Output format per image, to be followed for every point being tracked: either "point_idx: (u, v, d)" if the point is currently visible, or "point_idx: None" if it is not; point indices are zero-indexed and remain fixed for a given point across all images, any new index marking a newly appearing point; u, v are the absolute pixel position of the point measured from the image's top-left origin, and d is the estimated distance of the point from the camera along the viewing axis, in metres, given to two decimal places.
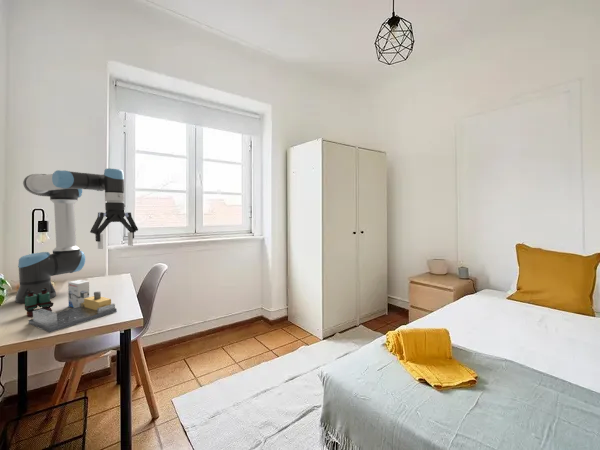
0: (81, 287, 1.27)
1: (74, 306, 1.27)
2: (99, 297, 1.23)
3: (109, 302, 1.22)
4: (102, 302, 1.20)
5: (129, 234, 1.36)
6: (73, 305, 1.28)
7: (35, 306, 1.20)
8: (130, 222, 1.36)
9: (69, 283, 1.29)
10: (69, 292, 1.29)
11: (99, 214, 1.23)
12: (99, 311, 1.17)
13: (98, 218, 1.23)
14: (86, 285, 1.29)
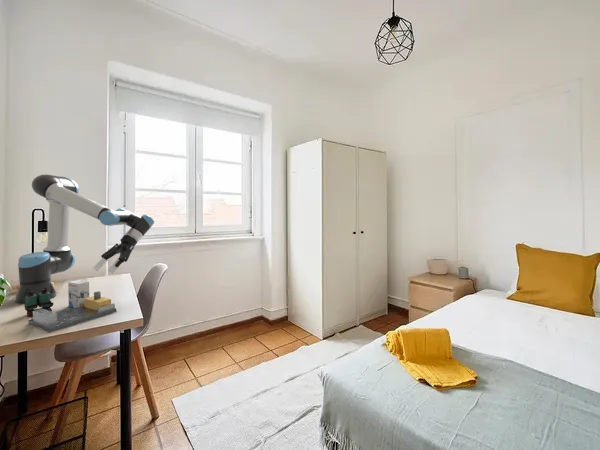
0: (81, 287, 1.27)
1: (74, 306, 1.27)
2: (99, 297, 1.23)
3: (109, 302, 1.22)
4: (102, 302, 1.20)
5: (103, 260, 1.45)
6: (73, 305, 1.28)
7: (35, 306, 1.20)
8: None
9: (69, 283, 1.29)
10: (69, 292, 1.29)
11: (131, 247, 1.45)
12: (99, 311, 1.17)
13: (129, 250, 1.43)
14: (86, 285, 1.29)
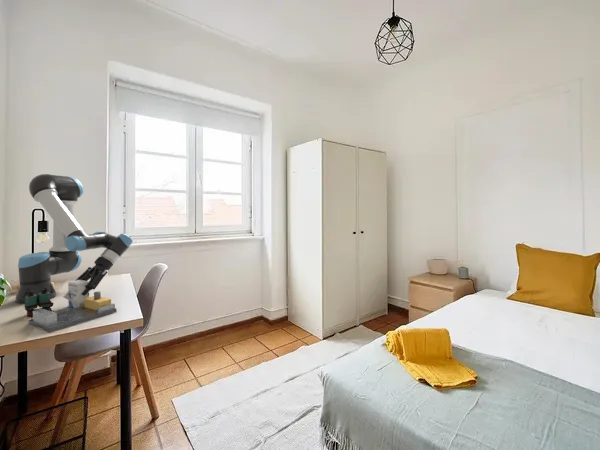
0: (81, 287, 1.27)
1: (74, 306, 1.27)
2: (99, 297, 1.23)
3: (109, 302, 1.22)
4: (102, 302, 1.20)
5: None
6: (73, 305, 1.28)
7: (35, 306, 1.20)
8: None
9: (69, 283, 1.29)
10: (69, 291, 1.29)
11: (104, 272, 1.34)
12: (99, 311, 1.17)
13: (101, 275, 1.32)
14: (86, 285, 1.29)
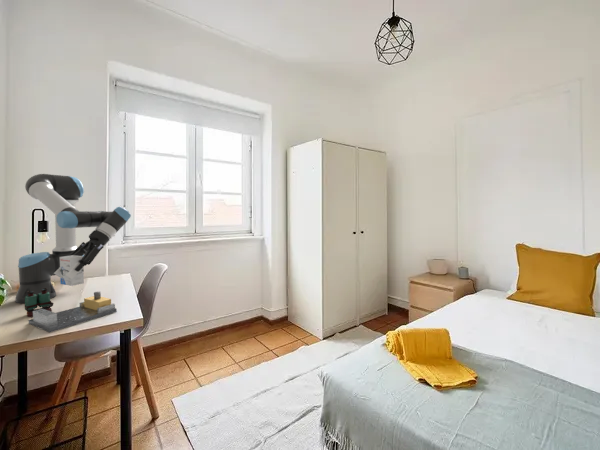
0: (74, 262, 1.14)
1: (67, 283, 1.14)
2: (99, 297, 1.23)
3: (109, 302, 1.22)
4: (102, 302, 1.20)
5: None
6: (66, 282, 1.15)
7: (35, 306, 1.20)
8: None
9: (61, 258, 1.16)
10: (61, 267, 1.15)
11: (100, 247, 1.21)
12: (99, 311, 1.17)
13: (97, 250, 1.19)
14: None
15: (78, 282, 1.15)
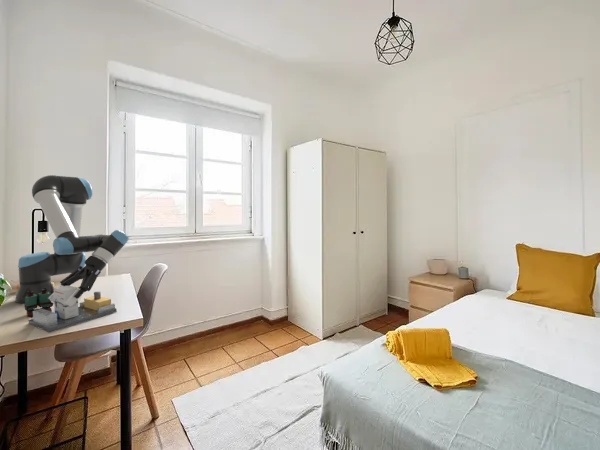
0: (68, 294, 1.10)
1: (61, 316, 1.11)
2: (99, 297, 1.23)
3: (109, 302, 1.22)
4: (102, 302, 1.20)
5: None
6: (60, 315, 1.11)
7: (35, 306, 1.20)
8: None
9: (55, 290, 1.12)
10: (55, 299, 1.12)
11: (97, 272, 1.17)
12: (99, 311, 1.17)
13: (95, 275, 1.16)
14: None
15: (72, 315, 1.12)
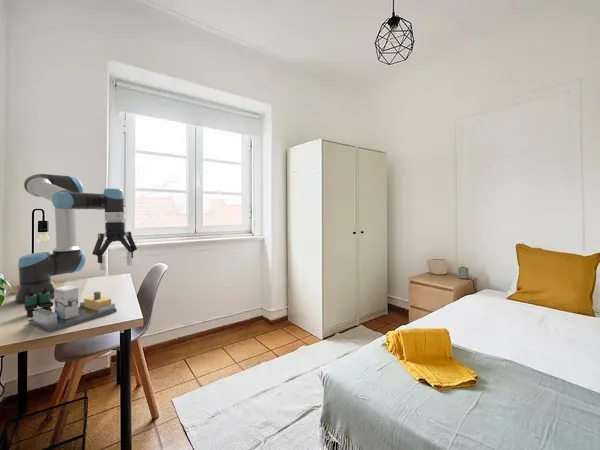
0: (68, 294, 1.10)
1: (61, 316, 1.11)
2: (99, 297, 1.23)
3: (109, 302, 1.22)
4: (102, 302, 1.20)
5: (128, 254, 1.35)
6: (60, 315, 1.11)
7: (35, 306, 1.20)
8: (129, 241, 1.36)
9: (55, 289, 1.12)
10: (56, 299, 1.12)
11: (99, 235, 1.24)
12: (99, 311, 1.17)
13: (98, 239, 1.24)
14: (75, 292, 1.12)
15: (72, 315, 1.12)
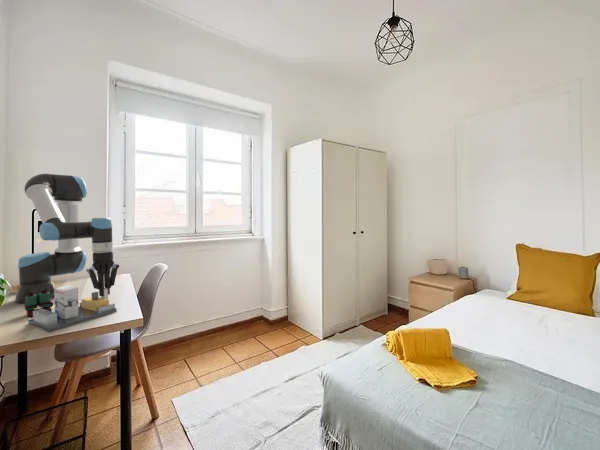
0: (68, 294, 1.10)
1: (61, 316, 1.11)
2: (97, 298, 1.22)
3: (107, 303, 1.22)
4: (100, 303, 1.19)
5: None
6: (60, 315, 1.11)
7: (35, 306, 1.20)
8: (112, 274, 1.29)
9: (55, 289, 1.12)
10: (56, 299, 1.12)
11: (88, 272, 1.20)
12: (99, 311, 1.17)
13: (91, 275, 1.21)
14: (75, 292, 1.12)
15: (72, 315, 1.12)
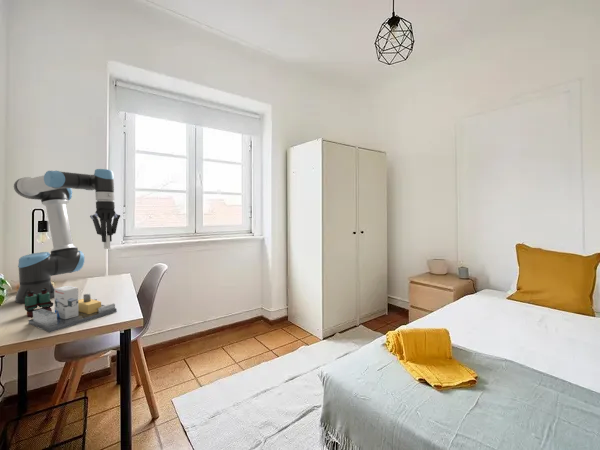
0: (68, 294, 1.10)
1: (61, 316, 1.11)
2: (89, 300, 1.20)
3: (99, 305, 1.19)
4: (92, 305, 1.16)
5: None
6: (60, 315, 1.11)
7: (35, 306, 1.20)
8: (113, 223, 1.39)
9: (55, 289, 1.12)
10: (56, 299, 1.12)
11: (92, 217, 1.31)
12: (99, 311, 1.17)
13: (94, 221, 1.32)
14: (75, 292, 1.12)
15: (72, 315, 1.12)
